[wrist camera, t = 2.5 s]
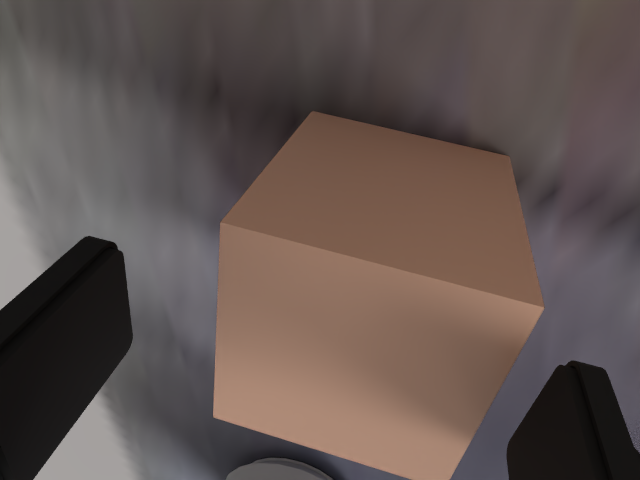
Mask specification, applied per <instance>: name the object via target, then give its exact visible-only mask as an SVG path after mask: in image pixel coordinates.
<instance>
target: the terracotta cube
mask: <svg viewBox="0 0 640 480" xmlns="http://www.w3.org/2000/svg"><path fill="white" fill-rule="evenodd" d="M544 308H545V307H544V303H543V298H542V294H541V290H540V286H539V281H538V277H537V273H536V268H535V264H534V260H533V256H532V251H531V247H530V243H529V239H528V234H527V230H526V226H525V221H524V217H523V213H522V209H521V204H520V200H519V196H518V192H517V187H516V183H515V179H514V174H513V170H512V166H511V162H510V157H509V156H506V155H501V154H497V153H493V152H488V151H484V150H480V149H475V148H471V147H467V146H462V145H458V144H454V143H449V142H445V141H441V140H436V139H432V138H428V137H423V136H419V135H415V134H410V133H406V132H402V131H397V130H393V129H389V128H384V127H380V126H376V125H371V124H367V123H363V122H358V121H354V120H349V119H345V118H341V117H336V116H332V115H328V114H323V113H319V112H315V111H312V112H311V113H310V114H309V115H308V116H307V118H306V119H305V120H304V121H303V123H302V124H301V125H300V126H299V127H298V129H297V130H296V131H295V132H294V133H293V135H292V136H291V137H290V138H289V140H288V141H287V142H286V143H285V144H284V146H283V147H282V148H281V149H280V150H279V152H278V153H277V154H276V155H275V157H274V158H273V159H272V160H271V161H270V163H269V164H268V165H267V166H266V167H265V169H264V170H263V171H262V172H261V173H260V175H259V176H258V177H257V178H256V180H255V181H254V182H253V183H252V184H251V186H250V187H249V188H248V189H247V190H246V192H245V193H244V194H243V195H242V197H241V198H240V199H239V200H238V201H237V203H236V204H235V205H234V206H233V207H232V209H231V210H230V211H229V212H228V214H227V215H226V216H225V217H224V218H223V220H222V221H221V222H220V245H219V272H218V299H217V326H216V353H215V380H214V407H213V417H214V418H217V419H220V420H223V421H227V422H230V423H233V424H236V425H239V426H242V427H246V428H249V429H252V430H255V431H258V432H262V433H265V434H268V435H271V436H274V437H278V438H281V439H284V440H287V441H290V442H293V443H297V444H300V445H303V446H306V447H309V448H313V449H316V450H319V451H322V452H325V453H329V454H332V455H335V456H338V457H341V458H344V459H348V460H351V461H354V462H357V463H360V464H364V465H367V466H370V467H373V468H376V469H379V470H383V471H386V472H389V473H392V474H395V475H399V476H402V477H405V478H408V479H411V480H450V478H451V476H452V475H453V473H454V471H455V469H456V467H457V465H458V464H459V462H460V460H461V458H462V456H463V455H464V453H465V451H466V449H467V447H468V446H469V444H470V442H471V440H472V438H473V437H474V435H475V433H476V431H477V429H478V427H479V426H480V424H481V422H482V420H483V418H484V417H485V415H486V413H487V411H488V409H489V408H490V406H491V404H492V402H493V400H494V399H495V397H496V395H497V393H498V391H499V389H500V388H501V386H502V384H503V382H504V380H505V379H506V377H507V375H508V373H509V371H510V370H511V368H512V366H513V364H514V362H515V361H516V359H517V357H518V355H519V353H520V351H521V350H522V348H523V346H524V344H525V342H526V341H527V339H528V337H529V335H530V333H531V332H532V330H533V328H534V326H535V324H536V323H537V321H538V319H539V317H540V315H541V313H542V312H543V310H544Z"/></svg>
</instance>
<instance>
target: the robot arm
mask: <svg viewBox="0 0 640 480" xmlns="http://www.w3.org/2000/svg"><path fill="white" fill-rule="evenodd" d="M132 339H133V334H132V325H131V316H130V307H129V299H128V290H127V281H126V272H125V263H124V256H123V253H122V251H119V250H118V248H117V245H116V244H115V243H114V242H111V241H107V240H103V239H99V238H95V237H91V236H87V237H85V238H83V239H82V240H80V241H79V242H78V243H77V244H76V245H75V246H74V247H72V248H71V249H70V250H69V251H68V252H67V253H65V254H64V255H63V256H62V257H61V258H60V259H59V260H57V261H56V262H55V263H54V264H53V265H52V266H51V267H49V268H48V269H47V270H46V271H45V272H44V273H43V274H41V275H40V276H39V277H38V278H37V279H36V280H35V281H33V282H32V283H31V284H30V285H29V286H28V287H27V288H25V289H24V290H23V291H22V292H21V293H20V294H18V295H17V296H16V297H15V298H14V299H13V300H12V301H10V302H9V303H8V304H7V305H6V306H5V307H4V308H2V309H1V310H0V480H33V479H34V478H35V476H36V475H37V474H38V472H39V471H40V470H41V468H42V467H43V466H44V464H45V463H46V461H47V460H48V459H49V457H50V456H51V455H52V453H53V452H54V451H55V449H56V448H57V447H58V445H59V444H60V443H61V441H62V440H63V438H64V437H65V436H66V434H67V433H68V432H69V430H70V429H71V428H72V426H73V425H74V424H75V422H76V421H77V420H78V418H79V417H80V415H81V414H82V413H83V412H84V410H85V409H86V407H87V406H88V405H89V403H90V402H91V401H92V399H93V398H94V397H95V395H96V394H97V393H98V391H99V390H100V389H101V387H102V386H103V384H104V383H105V382H106V380H107V379H108V378H109V376H110V375H111V374H112V372H113V371H114V370H115V368H116V367H117V366H118V364H119V363H120V361H121V360H122V359H123V357H124V356H125V355H126V353H127V352H128V350H129V348H130V346H131V343H132ZM507 465H508V474H509V480H640V453H639V452H638V451H637V450H636V449H635V448H634V446H633V443H632V441H631V438H630V435H629V432H628V429H627V427H626V424H625V421H624V418H623V415H622V413H621V410H620V407H619V404H618V402H617V399H616V396H615V393H614V390H613V388H612V385H611V382H610V379H609V377H608V374H607V372H606V370H604V369H603V368H601V367H597V366H593V365H589V364H585V363H581V362H577V361H570V362H568V363H567V365H566V366H564V365H559V366H558V367H557V368H556V369H555V371H554V372H553V374H552V375H551V377H550V378H549V380H548V381H547V383H546V385H545V386H544V388H543V389H542V391H541V392H540V394H539V395H538V397H537V399H536V400H535V402H534V403H533V405H532V406H531V408H530V409H529V411H528V413H527V414H526V416H525V417H524V419H523V420H522V422H521V423H520V425H519V427H518V428H517V430H516V431H515V433H514V434H513V436H512V437H511V439H510V441H509V444H508V447H507Z"/></svg>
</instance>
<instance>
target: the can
mask: <svg viewBox="0 0 640 480" xmlns="http://www.w3.org/2000/svg"><path fill="white" fill-rule="evenodd" d="M226 480H333V479H332V478H331V477H329V476H328V475H326V474H325V473H323V472H322V471H321V470H319V469H316V468H314V467H312V466H310V465H307V464H305V463H303V462H299V461H295V460H291V459H287V458H265V459H260V460H256V461H254V462H253V463H251V464H248V465H244V466H240V467H238V468H237V469H235V470H234V471H232V472H231V473H229V474H228V476H227V478H226Z"/></svg>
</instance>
